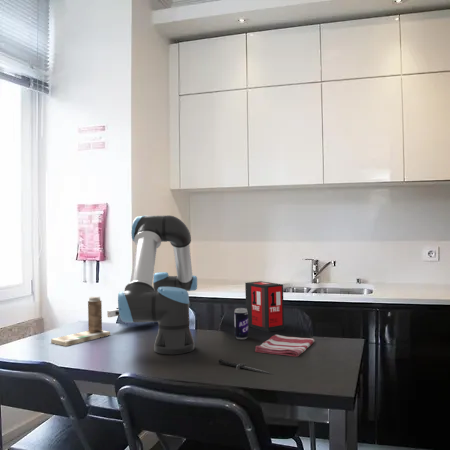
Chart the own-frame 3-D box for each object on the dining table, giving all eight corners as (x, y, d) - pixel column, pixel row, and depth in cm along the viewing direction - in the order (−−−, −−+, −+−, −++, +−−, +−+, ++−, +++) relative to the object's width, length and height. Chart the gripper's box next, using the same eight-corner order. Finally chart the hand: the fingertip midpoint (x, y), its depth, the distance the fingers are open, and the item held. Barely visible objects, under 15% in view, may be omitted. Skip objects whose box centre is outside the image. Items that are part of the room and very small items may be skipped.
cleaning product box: (283, 329, 204) (283, 284, 205) (268, 332, 200) (267, 286, 200) (261, 323, 218) (260, 281, 218) (246, 325, 213) (245, 282, 214)
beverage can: (238, 340, 185) (238, 310, 185) (232, 337, 190) (231, 308, 190) (251, 338, 188) (250, 309, 188) (244, 335, 193) (243, 307, 193)
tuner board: (95, 332, 205) (95, 328, 205) (110, 335, 199) (110, 331, 199) (51, 342, 187) (51, 338, 187) (65, 346, 181) (65, 341, 181)
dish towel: (253, 353, 167) (253, 346, 167) (275, 339, 188) (275, 332, 188) (298, 358, 160) (298, 350, 160) (315, 343, 181) (315, 336, 181)
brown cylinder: (96, 329, 202) (95, 296, 202) (106, 331, 198) (106, 297, 198) (87, 331, 198) (86, 297, 199) (98, 333, 194) (97, 298, 194)
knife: (289, 373, 142) (282, 376, 137) (289, 379, 141) (281, 382, 137) (224, 357, 156) (216, 359, 152) (224, 362, 156) (215, 365, 152)
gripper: (156, 315, 220) (118, 324, 201) (138, 312, 228) (99, 321, 209) (156, 299, 220) (118, 307, 201) (137, 297, 228) (99, 304, 209)
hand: (108, 314), depth 205 cm, fingers closed
